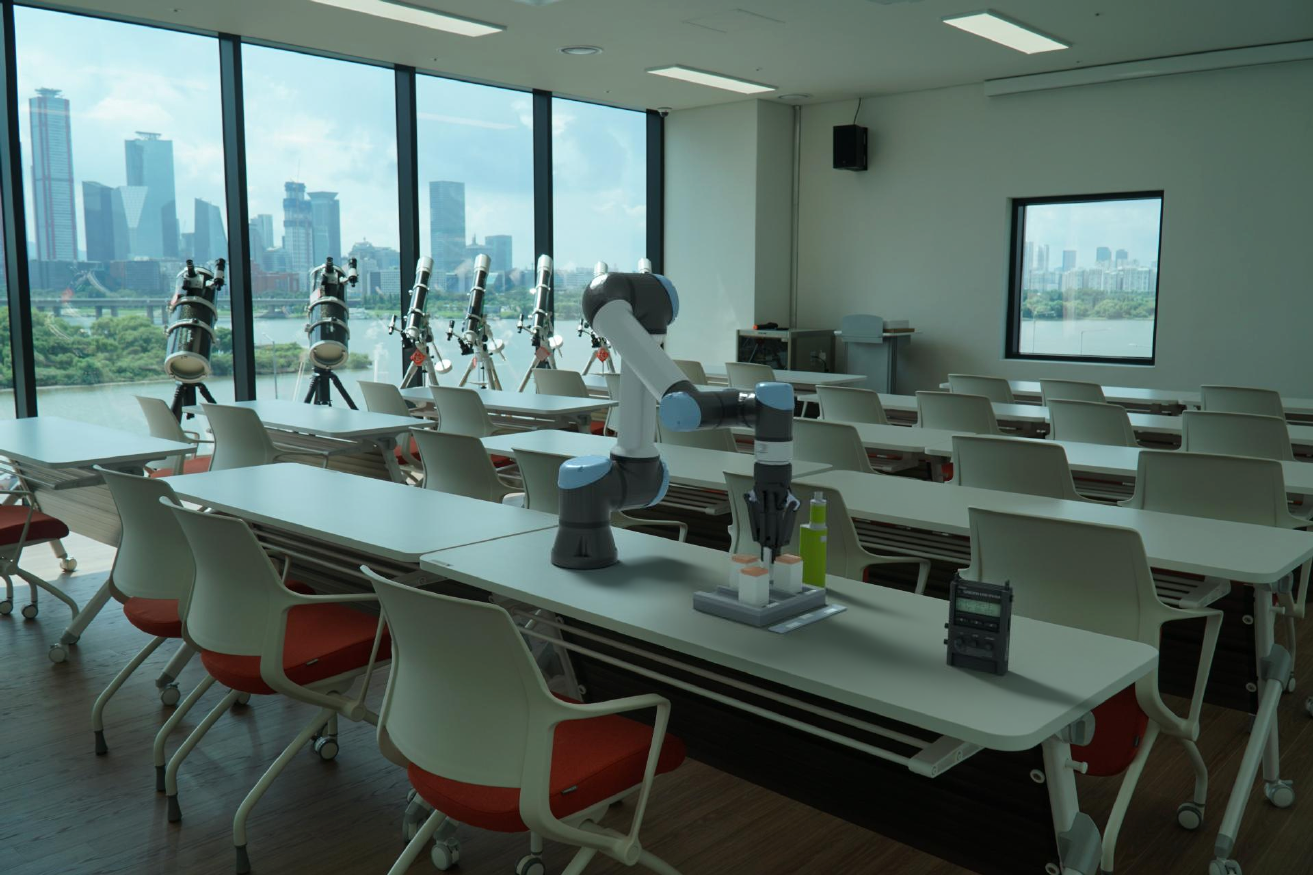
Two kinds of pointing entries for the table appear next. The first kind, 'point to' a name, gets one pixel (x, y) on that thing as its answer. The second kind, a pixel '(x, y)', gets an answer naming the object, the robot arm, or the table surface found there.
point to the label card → (807, 618)
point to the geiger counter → (979, 625)
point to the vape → (814, 544)
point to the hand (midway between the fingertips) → (770, 578)
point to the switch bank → (778, 608)
